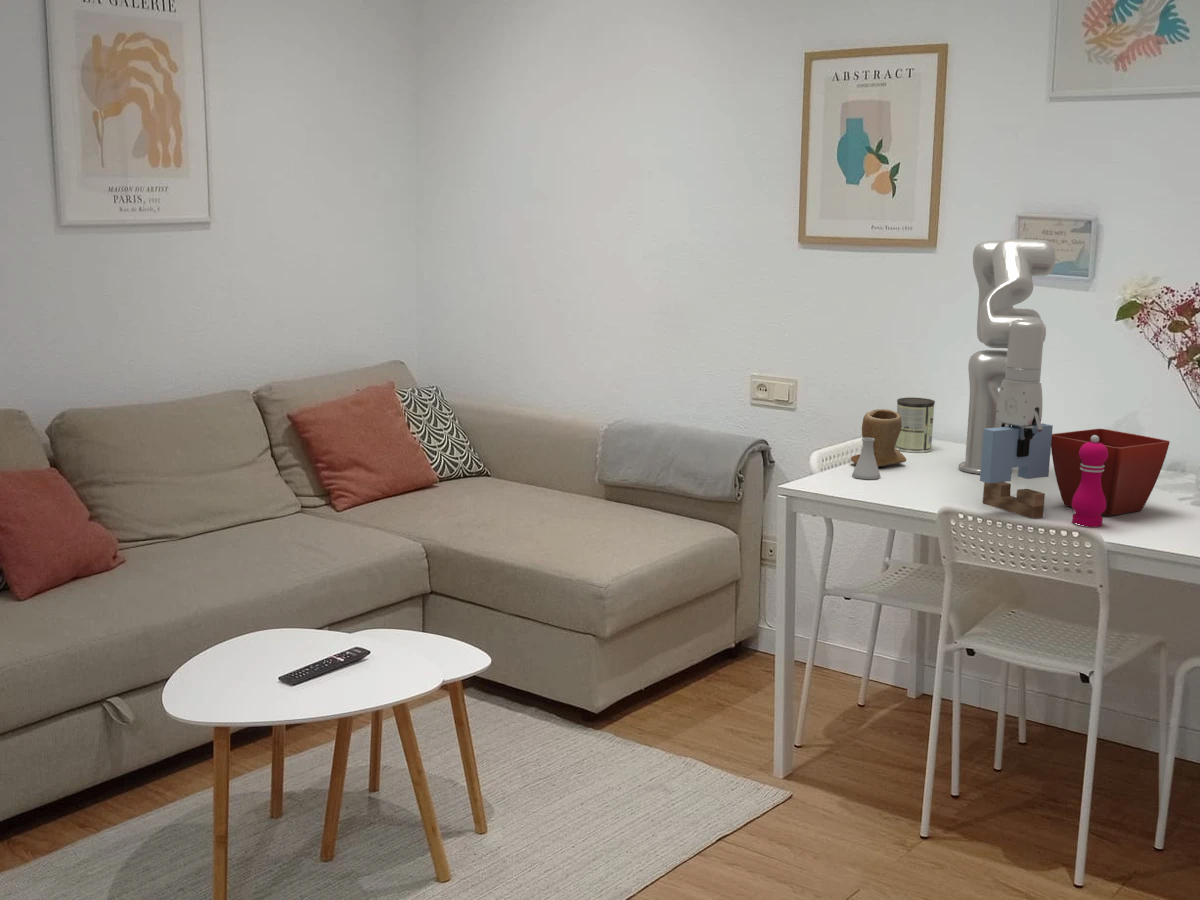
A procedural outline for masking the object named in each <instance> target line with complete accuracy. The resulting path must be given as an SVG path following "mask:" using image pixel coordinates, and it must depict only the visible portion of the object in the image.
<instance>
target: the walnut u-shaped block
mask: <svg viewBox="0 0 1200 900" xmlns="http://www.w3.org/2000/svg"><path fill="white" fill-rule="evenodd" d="M1011 489H1012V485H1011V483H1009V482H1007V481H1006V482H998V483H986V482H983V495H982V504H984V505H988V506H991V507H994V508H998V509H1000V510H1004V511H1007V512H1010V513H1014V514H1016V515H1020V516H1024V517H1026V518H1030V519H1032V518H1034V519H1041V518H1044V510H1045V509H1044V508H1045V499H1046V498H1045V497H1046V496H1045V495H1046V493H1044V492H1040V491H1037V490H1033V489H1030V488H1021V489H1019V488H1018V489H1017V490H1016V497H1015V496H1012V495H1011Z"/></svg>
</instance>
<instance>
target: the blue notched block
mask: <svg viewBox="0 0 1200 900" xmlns="http://www.w3.org/2000/svg"><path fill="white" fill-rule="evenodd" d="M1041 426H1042V431H1040V432H1038V433H1036V434H1035V435H1034V436H1033V438H1032V439H1030V446H1029V456H1026V457H1017V444H1018V440H1019V439H1020V427H1018V426H1009V427H998V428H987V429H984V432H983V445H982V458H981V472H980V474H979V481H980V482H982V483H984V482H986V483H998V482H1006V483H1007V482H1011V481H1012V472H1013V468H1014V469H1015V468H1018V470H1017V477H1018V478H1021V479H1025V480H1026V479H1027V480H1030V479H1038V478H1039V479H1041V478H1046V477H1047V478H1048V477H1049V472H1050V463H1051V461H1050V460H1051V453H1052V450H1051V440H1052V434H1053V428H1054V427H1053V426H1054V425H1052V424H1047V423H1042V422H1041ZM1026 431H1027V429H1026Z"/></svg>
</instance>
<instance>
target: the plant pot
mask: <svg viewBox="0 0 1200 900" xmlns="http://www.w3.org/2000/svg"><path fill="white" fill-rule="evenodd" d="M1093 435H1097V436H1098V437H1099V441H1098V442H1099V443H1101V444H1103V445H1105V447H1106V448H1107V450H1108V458H1107V460H1106V461H1105V462H1104V463H1103V465H1105V467H1104V471H1103V472H1102V475H1101V485H1102V490H1103V493H1104V495H1105V499H1106V509H1105V511H1104V512H1103V513H1102V514H1101V516H1108V517H1111V516H1116V515H1123V514H1127V513H1129V514H1130V513H1135V512H1141V511H1142V510H1143V508H1144V507H1145V505H1146V503H1147V501H1148V500H1149V498H1150V495H1151V494H1152V492H1153V489H1154V488H1155V485H1156V483H1157V480H1158V478H1159V477H1160V473H1161V471H1162V468H1163V465H1164V462H1165V460H1166V456H1167V453H1168V449H1169V446H1170V440H1168V439H1167V440H1166V439H1162V438H1156V437H1151V436H1146V435H1140V434H1136V433H1135V434H1134V433H1130V432H1128V433H1127V432H1122V431H1117V430H1112V429H1106V428H1093V429H1084V430H1074V431H1066V432H1059V433H1058V432H1057V433H1052V440H1051V456H1052V457H1051V458H1052V463H1053V470H1054V474H1055V477H1056V478H1055V479H1056V483H1057V487H1058V490H1059V493H1060V497H1061V500H1062V502H1063V505H1064V506H1066V507H1069V508H1072V505H1071V504H1072V499H1073V496H1074V494H1075V492H1076V490H1077V489H1078V487H1079V485H1080V482H1081V477H1082V470H1081V469H1080V467H1081V465H1080V464H1081V463H1082V460H1081V459H1080V457H1079V450H1080V448H1081V446H1082V445H1083V444H1085V443H1087V442H1091V437H1092V436H1093Z"/></svg>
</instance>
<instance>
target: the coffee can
mask: <svg viewBox="0 0 1200 900" xmlns="http://www.w3.org/2000/svg"><path fill="white" fill-rule="evenodd" d="M896 402H897V405H896V412H897V413H898V414H899V415H900V416H901V431H900V434H899V436H898V439H897V442H896V445H895V449H898V450H899V451H900V452H903V453H904V452H905V453H913V454H914V453H915V454H923V453H930V452H931V451H932V450H933V449H932V442H933V429H934V428H933V427H934V414H935V413H934V411H935V404H936V403H935V402H936V401H935V400H933V399H931V398H925V397H924V398H923V397H900V398H898V399H897V400H896Z"/></svg>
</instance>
